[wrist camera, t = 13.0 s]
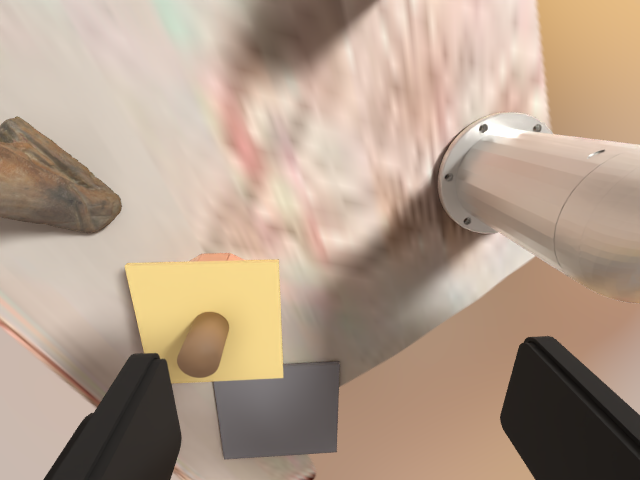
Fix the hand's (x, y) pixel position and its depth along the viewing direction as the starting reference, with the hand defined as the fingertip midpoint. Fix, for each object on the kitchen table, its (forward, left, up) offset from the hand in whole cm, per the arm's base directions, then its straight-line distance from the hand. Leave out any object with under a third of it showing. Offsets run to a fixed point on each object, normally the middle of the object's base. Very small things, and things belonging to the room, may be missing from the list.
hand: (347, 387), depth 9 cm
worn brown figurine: (+24, 0, -29) cm, 37 cm away
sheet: (+10, +14, -23) cm, 29 cm away
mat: (+4, +32, -28) cm, 43 cm away
